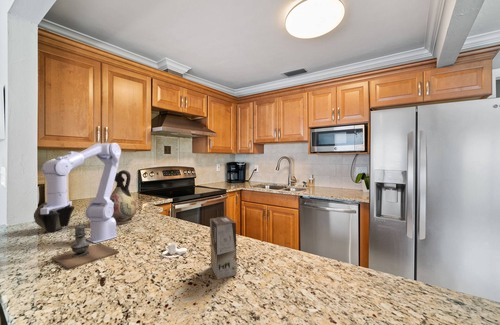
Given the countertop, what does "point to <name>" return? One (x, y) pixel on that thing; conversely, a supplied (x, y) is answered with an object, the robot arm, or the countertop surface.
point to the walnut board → (94, 254)
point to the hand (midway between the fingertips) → (58, 229)
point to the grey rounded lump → (41, 220)
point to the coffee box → (223, 247)
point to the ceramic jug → (123, 199)
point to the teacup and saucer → (173, 250)
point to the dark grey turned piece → (80, 242)
